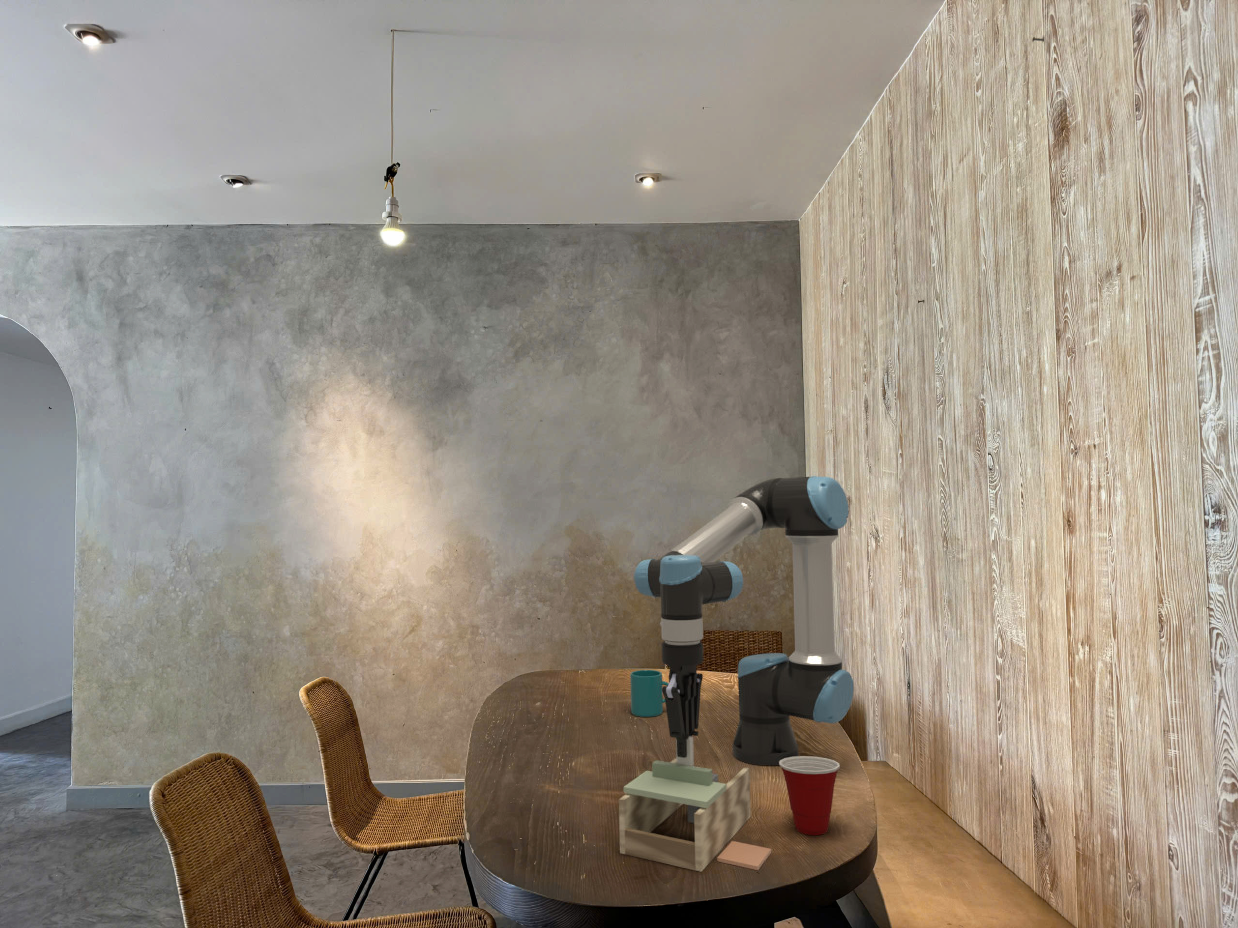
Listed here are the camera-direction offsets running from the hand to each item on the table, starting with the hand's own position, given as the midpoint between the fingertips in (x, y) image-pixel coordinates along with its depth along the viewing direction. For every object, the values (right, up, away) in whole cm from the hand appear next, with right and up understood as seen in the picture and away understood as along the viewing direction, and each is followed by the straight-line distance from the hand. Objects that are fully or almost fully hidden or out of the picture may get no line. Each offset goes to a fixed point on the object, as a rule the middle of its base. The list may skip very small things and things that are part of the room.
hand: (685, 773), depth 138 cm
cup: (-3, -15, +79) cm, 81 cm away
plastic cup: (+23, -11, +1) cm, 25 cm away
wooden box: (+1, -11, 0) cm, 11 cm away
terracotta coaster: (+9, -10, -9) cm, 17 cm away
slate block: (+4, -11, +6) cm, 13 cm away
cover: (-2, -1, -4) cm, 5 cm away
